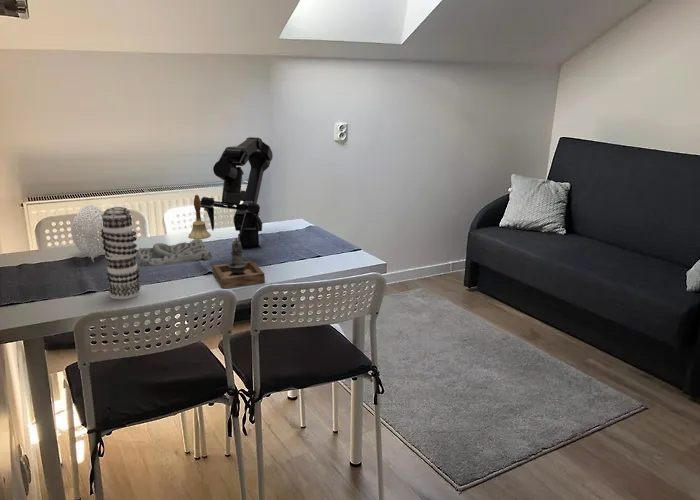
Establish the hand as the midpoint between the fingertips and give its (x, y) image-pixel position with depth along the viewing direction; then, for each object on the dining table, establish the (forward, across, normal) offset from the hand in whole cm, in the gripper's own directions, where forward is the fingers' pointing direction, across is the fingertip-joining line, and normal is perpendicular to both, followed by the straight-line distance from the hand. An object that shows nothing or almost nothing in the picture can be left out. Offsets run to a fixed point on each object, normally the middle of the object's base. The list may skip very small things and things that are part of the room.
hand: (227, 232), depth 196 cm
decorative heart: (+12, -42, +21) cm, 48 cm away
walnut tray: (+15, +4, -9) cm, 18 cm away
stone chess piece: (+14, +4, -9) cm, 17 cm away
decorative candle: (+23, -28, -13) cm, 38 cm away
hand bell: (-2, -8, +38) cm, 39 cm away
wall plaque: (+8, -16, +18) cm, 26 cm away
